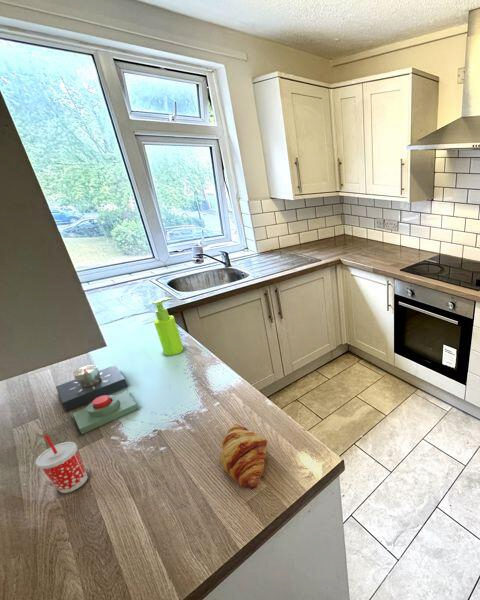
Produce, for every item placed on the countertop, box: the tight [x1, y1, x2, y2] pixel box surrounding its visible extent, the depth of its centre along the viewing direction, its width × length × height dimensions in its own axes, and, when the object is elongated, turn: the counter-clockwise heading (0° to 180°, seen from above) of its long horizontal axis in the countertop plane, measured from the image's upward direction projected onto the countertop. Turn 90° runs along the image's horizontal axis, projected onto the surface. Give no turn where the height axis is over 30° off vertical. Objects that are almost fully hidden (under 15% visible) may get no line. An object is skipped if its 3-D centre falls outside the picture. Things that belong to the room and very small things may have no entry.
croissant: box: [218, 423, 268, 490], centre depth 76 cm, size 21×10×8 cm, turn 36°
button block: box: [72, 390, 139, 435], centre depth 90 cm, size 12×9×4 cm
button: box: [91, 394, 111, 409], centre depth 89 cm, size 4×4×2 cm
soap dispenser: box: [152, 297, 184, 356], centre depth 116 cm, size 6×7×20 cm
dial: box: [72, 364, 102, 388], centre depth 97 cm, size 5×5×5 cm
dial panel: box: [55, 364, 129, 412], centre depth 98 cm, size 14×11×3 cm
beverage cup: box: [35, 434, 88, 494], centre depth 68 cm, size 6×6×14 cm
